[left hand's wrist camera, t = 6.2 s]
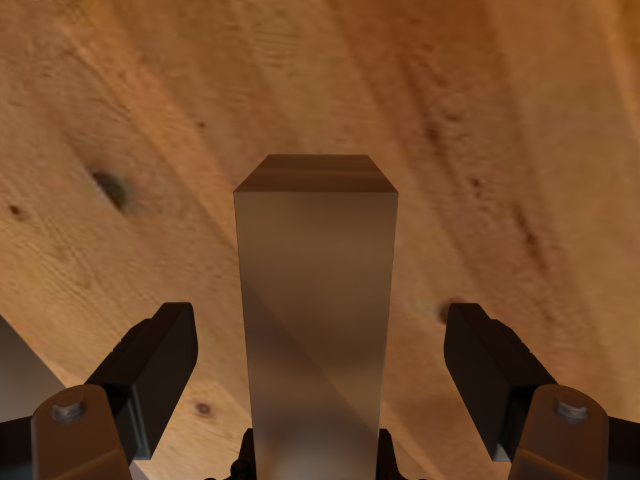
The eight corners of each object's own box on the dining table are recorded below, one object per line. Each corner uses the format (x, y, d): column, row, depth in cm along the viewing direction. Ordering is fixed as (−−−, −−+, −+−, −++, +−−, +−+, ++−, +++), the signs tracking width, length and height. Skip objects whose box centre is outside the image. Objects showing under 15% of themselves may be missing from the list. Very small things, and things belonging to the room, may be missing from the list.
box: (268, 154, 22) (232, 191, 13) (367, 154, 22) (398, 191, 13) (281, 428, 30) (263, 567, 21) (354, 428, 30) (368, 568, 21)
